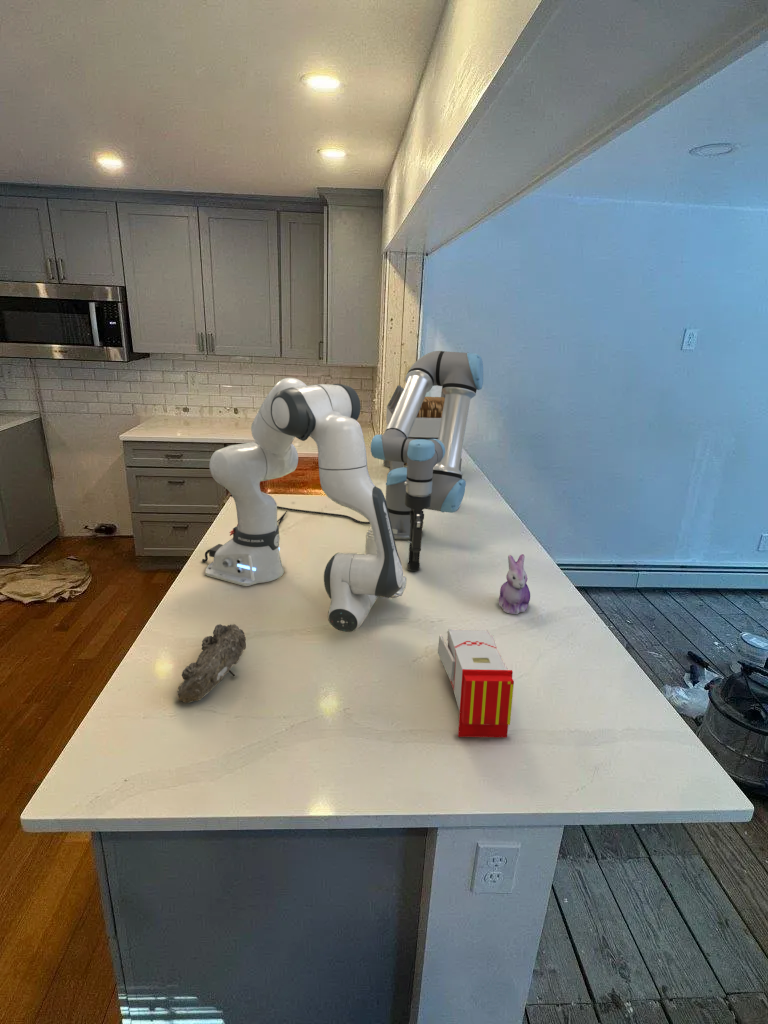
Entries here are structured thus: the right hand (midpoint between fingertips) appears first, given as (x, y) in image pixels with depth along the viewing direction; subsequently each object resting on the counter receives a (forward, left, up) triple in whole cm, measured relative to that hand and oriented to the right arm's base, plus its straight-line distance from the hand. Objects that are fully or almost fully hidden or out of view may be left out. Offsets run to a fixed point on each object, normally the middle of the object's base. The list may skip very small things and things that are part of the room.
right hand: (413, 566), depth 173 cm
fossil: (+13, -70, -1) cm, 71 cm away
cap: (0, 0, +1) cm, 1 cm away
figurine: (+33, +6, -1) cm, 34 cm away
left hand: (+3, -18, +5) cm, 19 cm away
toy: (+50, -31, -1) cm, 59 cm away
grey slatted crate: (-77, +77, -1) cm, 108 cm away
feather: (-63, -7, -1) cm, 63 cm away
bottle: (+3, -18, -1) cm, 19 cm away
